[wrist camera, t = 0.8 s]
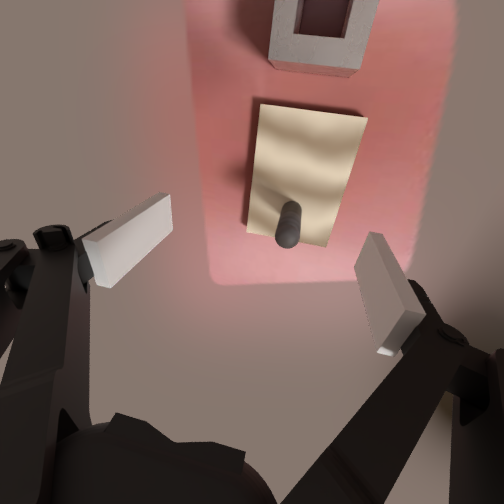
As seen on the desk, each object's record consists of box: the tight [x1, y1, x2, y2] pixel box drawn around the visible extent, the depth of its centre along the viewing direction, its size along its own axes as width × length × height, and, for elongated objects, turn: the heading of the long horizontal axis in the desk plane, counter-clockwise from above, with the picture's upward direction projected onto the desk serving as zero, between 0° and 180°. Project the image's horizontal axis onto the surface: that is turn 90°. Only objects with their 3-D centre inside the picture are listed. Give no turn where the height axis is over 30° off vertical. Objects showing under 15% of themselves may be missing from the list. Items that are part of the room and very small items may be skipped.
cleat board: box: [247, 104, 368, 248], centre depth 30 cm, size 18×13×12 cm
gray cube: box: [268, 0, 379, 78], centre depth 23 cm, size 9×9×7 cm
